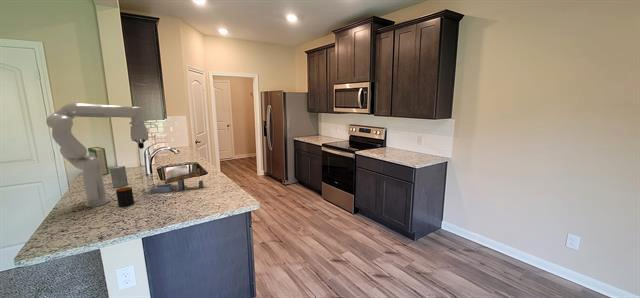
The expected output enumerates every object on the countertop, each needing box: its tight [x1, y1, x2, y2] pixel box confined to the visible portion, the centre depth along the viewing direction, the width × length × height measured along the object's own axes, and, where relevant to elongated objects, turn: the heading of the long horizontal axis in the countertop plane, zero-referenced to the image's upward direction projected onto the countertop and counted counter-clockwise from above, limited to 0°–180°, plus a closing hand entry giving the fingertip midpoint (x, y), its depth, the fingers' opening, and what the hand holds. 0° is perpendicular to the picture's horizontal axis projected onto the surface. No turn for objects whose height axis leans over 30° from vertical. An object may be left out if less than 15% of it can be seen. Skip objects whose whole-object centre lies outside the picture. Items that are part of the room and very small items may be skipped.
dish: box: [149, 183, 173, 195], centre depth 198 cm, size 9×13×4 cm
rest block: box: [198, 180, 204, 189], centre depth 206 cm, size 5×2×4 cm, turn 17°
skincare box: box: [109, 165, 129, 189], centre depth 210 cm, size 8×7×16 cm
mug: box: [115, 186, 135, 208], centre depth 172 cm, size 8×12×10 cm
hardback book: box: [87, 146, 110, 176], centre depth 248 cm, size 18×7×24 cm, turn 55°
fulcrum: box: [175, 179, 189, 193], centre depth 202 cm, size 6×12×8 cm, turn 17°
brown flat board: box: [163, 168, 201, 184], centre depth 206 cm, size 24×17×4 cm
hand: (141, 148), depth 200 cm, fingers closed
